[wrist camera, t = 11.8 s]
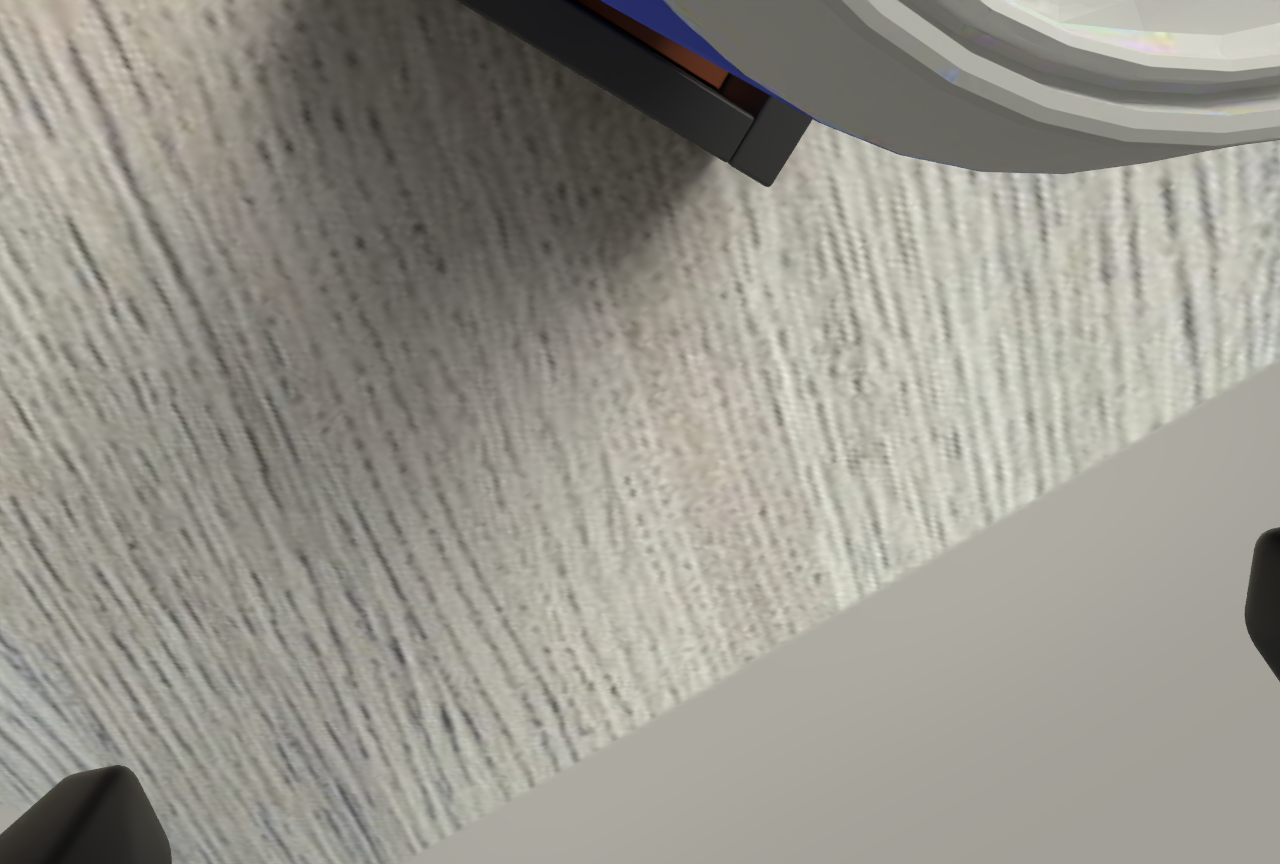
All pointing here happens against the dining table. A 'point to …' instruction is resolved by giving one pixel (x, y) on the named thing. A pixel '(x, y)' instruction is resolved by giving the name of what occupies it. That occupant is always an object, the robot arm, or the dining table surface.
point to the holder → (658, 79)
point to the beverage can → (1003, 73)
